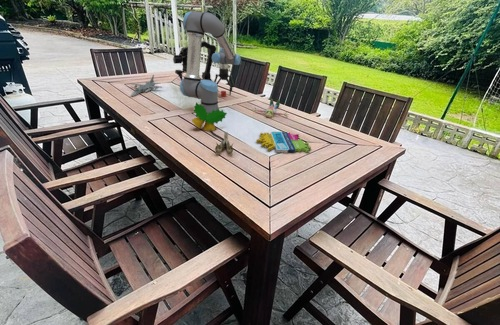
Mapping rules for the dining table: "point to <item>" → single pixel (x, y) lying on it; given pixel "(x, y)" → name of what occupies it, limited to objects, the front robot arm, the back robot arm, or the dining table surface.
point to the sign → (283, 142)
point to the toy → (271, 109)
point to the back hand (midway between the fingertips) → (186, 81)
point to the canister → (223, 93)
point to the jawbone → (224, 145)
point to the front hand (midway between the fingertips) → (223, 94)
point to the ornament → (207, 117)
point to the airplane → (145, 87)
